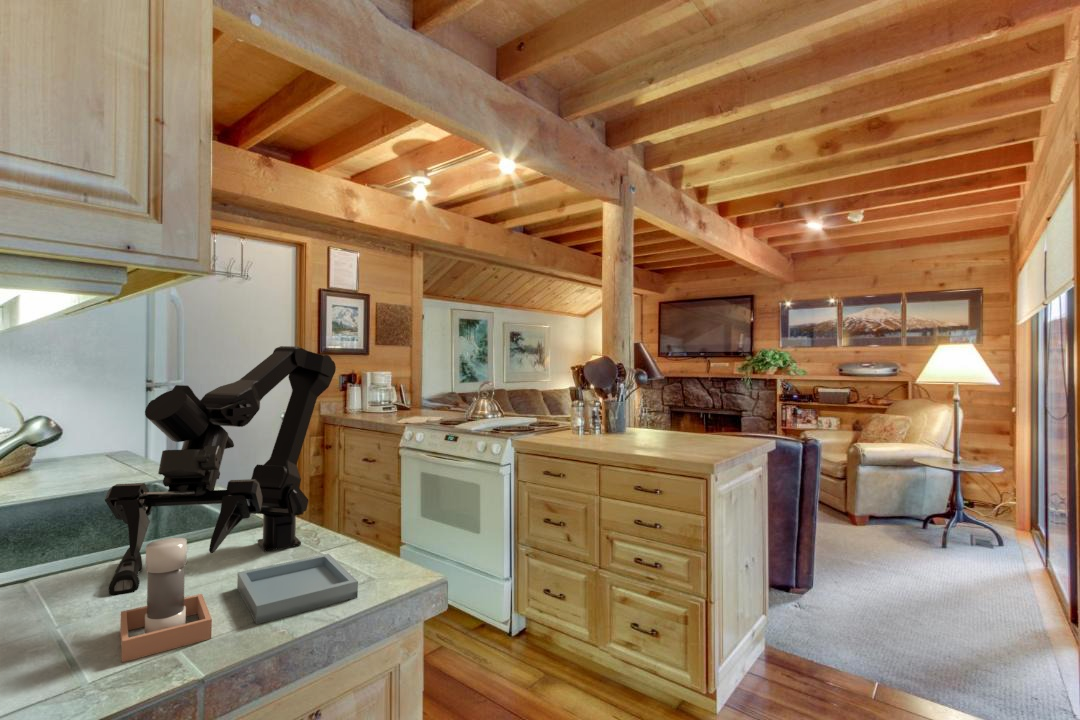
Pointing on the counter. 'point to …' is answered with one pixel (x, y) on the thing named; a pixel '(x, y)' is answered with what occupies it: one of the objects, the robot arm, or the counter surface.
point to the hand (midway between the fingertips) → (172, 554)
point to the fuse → (165, 583)
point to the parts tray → (295, 587)
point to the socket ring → (164, 630)
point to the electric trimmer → (126, 575)
